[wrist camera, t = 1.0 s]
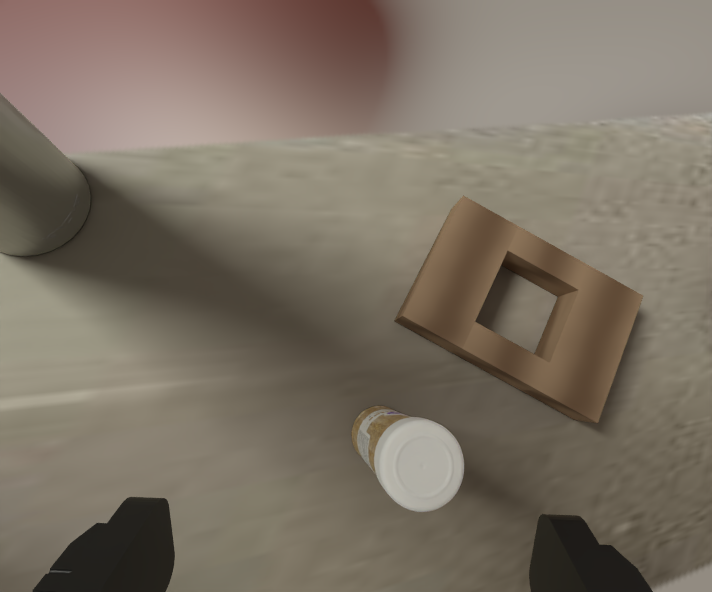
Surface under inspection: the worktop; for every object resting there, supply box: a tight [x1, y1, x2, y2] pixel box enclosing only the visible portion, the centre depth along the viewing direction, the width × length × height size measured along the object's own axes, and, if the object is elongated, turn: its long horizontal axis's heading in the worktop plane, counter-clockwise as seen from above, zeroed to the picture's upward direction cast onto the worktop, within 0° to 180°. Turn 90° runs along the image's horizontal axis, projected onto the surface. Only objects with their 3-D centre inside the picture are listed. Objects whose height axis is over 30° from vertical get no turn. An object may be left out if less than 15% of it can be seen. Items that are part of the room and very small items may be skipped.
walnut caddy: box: [395, 196, 643, 423], centre depth 37 cm, size 18×12×3 cm, turn 62°
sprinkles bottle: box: [351, 406, 464, 512], centre depth 28 cm, size 5×5×13 cm
